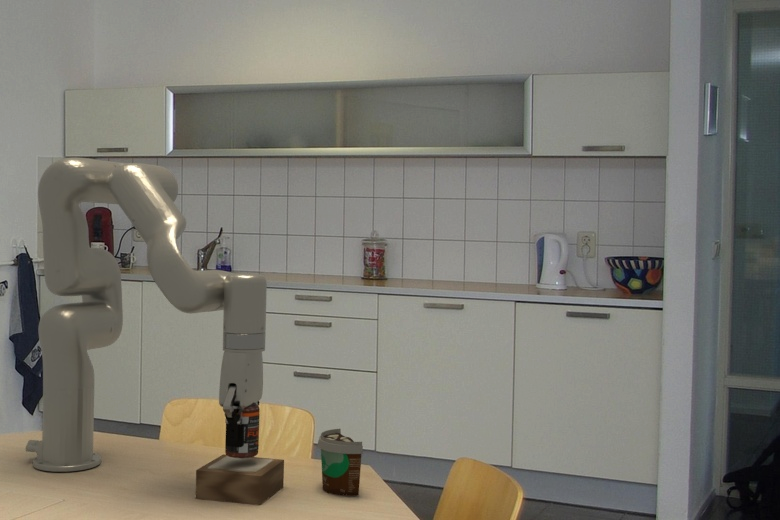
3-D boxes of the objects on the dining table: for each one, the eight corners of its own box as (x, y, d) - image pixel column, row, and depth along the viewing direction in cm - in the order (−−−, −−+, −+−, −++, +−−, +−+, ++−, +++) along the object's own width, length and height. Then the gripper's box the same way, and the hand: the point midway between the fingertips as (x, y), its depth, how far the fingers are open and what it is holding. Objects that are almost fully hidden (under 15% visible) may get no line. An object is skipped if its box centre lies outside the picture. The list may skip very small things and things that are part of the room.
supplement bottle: (251, 460, 164) (253, 396, 164) (219, 457, 166) (221, 394, 165) (263, 452, 170) (264, 390, 170) (232, 450, 171) (233, 388, 171)
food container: (307, 482, 176) (308, 429, 176) (337, 479, 178) (339, 427, 178) (329, 500, 165) (330, 444, 164) (361, 497, 167) (363, 442, 167)
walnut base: (195, 498, 164) (196, 468, 163) (222, 480, 175) (223, 453, 175) (260, 504, 161) (261, 474, 161) (283, 486, 173) (284, 458, 173)
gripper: (242, 336, 177) (240, 430, 177) (204, 346, 160) (202, 451, 160) (280, 338, 175) (278, 433, 175) (245, 349, 158) (243, 455, 159)
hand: (241, 441), depth 168 cm, fingers closed on supplement bottle, 6 cm apart
